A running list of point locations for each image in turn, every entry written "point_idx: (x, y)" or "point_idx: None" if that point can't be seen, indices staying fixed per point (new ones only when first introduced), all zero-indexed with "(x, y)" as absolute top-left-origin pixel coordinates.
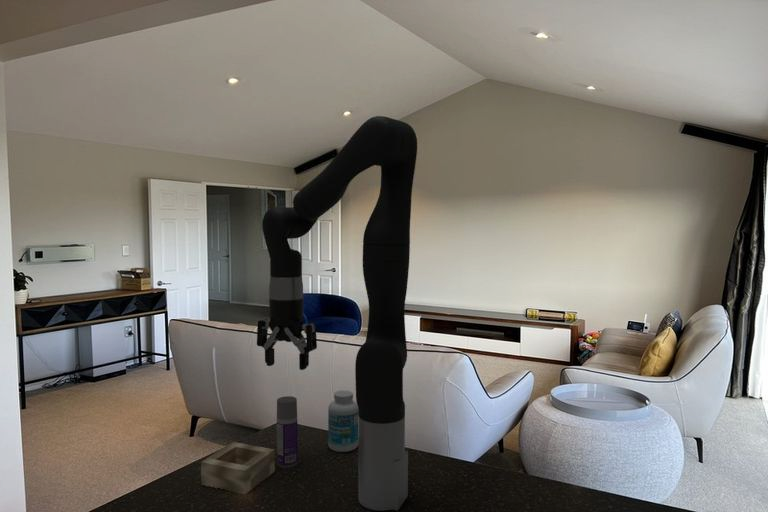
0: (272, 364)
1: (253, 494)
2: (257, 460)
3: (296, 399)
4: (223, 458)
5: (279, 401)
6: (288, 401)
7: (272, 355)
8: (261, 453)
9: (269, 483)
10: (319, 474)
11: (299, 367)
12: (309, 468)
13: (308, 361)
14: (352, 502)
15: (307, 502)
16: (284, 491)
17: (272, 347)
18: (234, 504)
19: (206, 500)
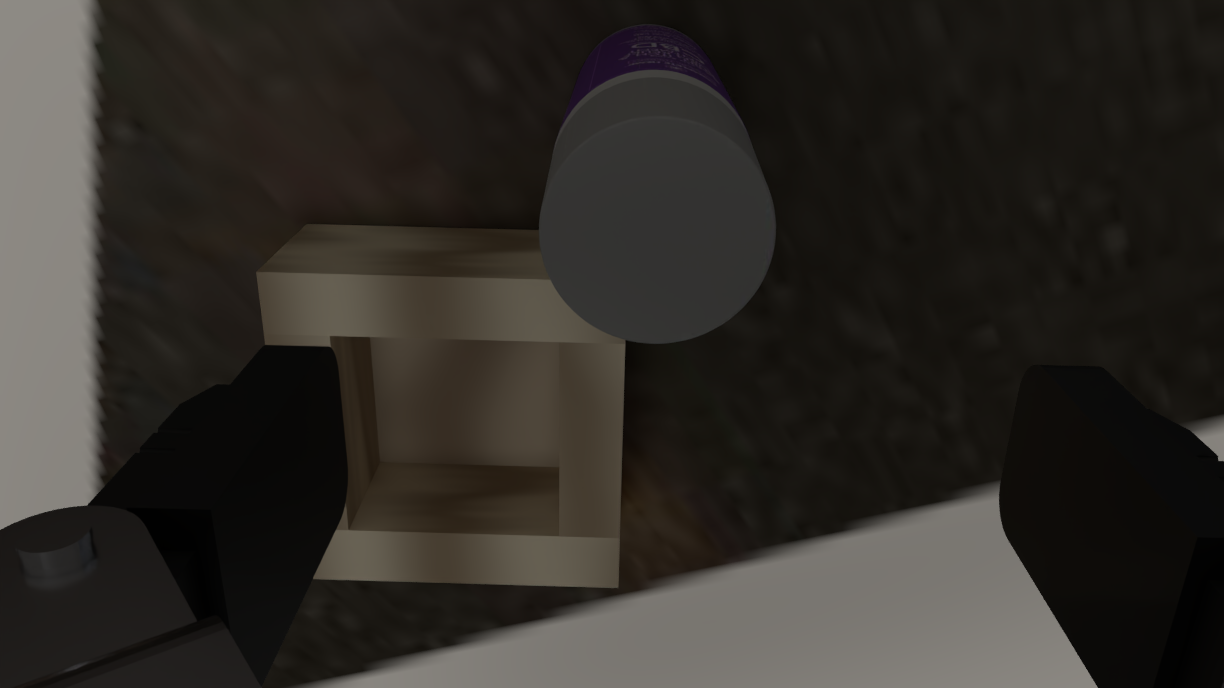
0: (337, 402)
1: (659, 491)
2: (611, 459)
3: (770, 197)
4: (348, 440)
5: (612, 325)
6: (712, 292)
7: (278, 495)
8: (575, 367)
9: (677, 369)
10: (928, 168)
11: (1016, 548)
12: (829, 113)
13: (1219, 474)
14: (1219, 397)
15: (974, 470)
16: (805, 416)
17: (180, 585)
18: (625, 590)
19: (473, 602)
